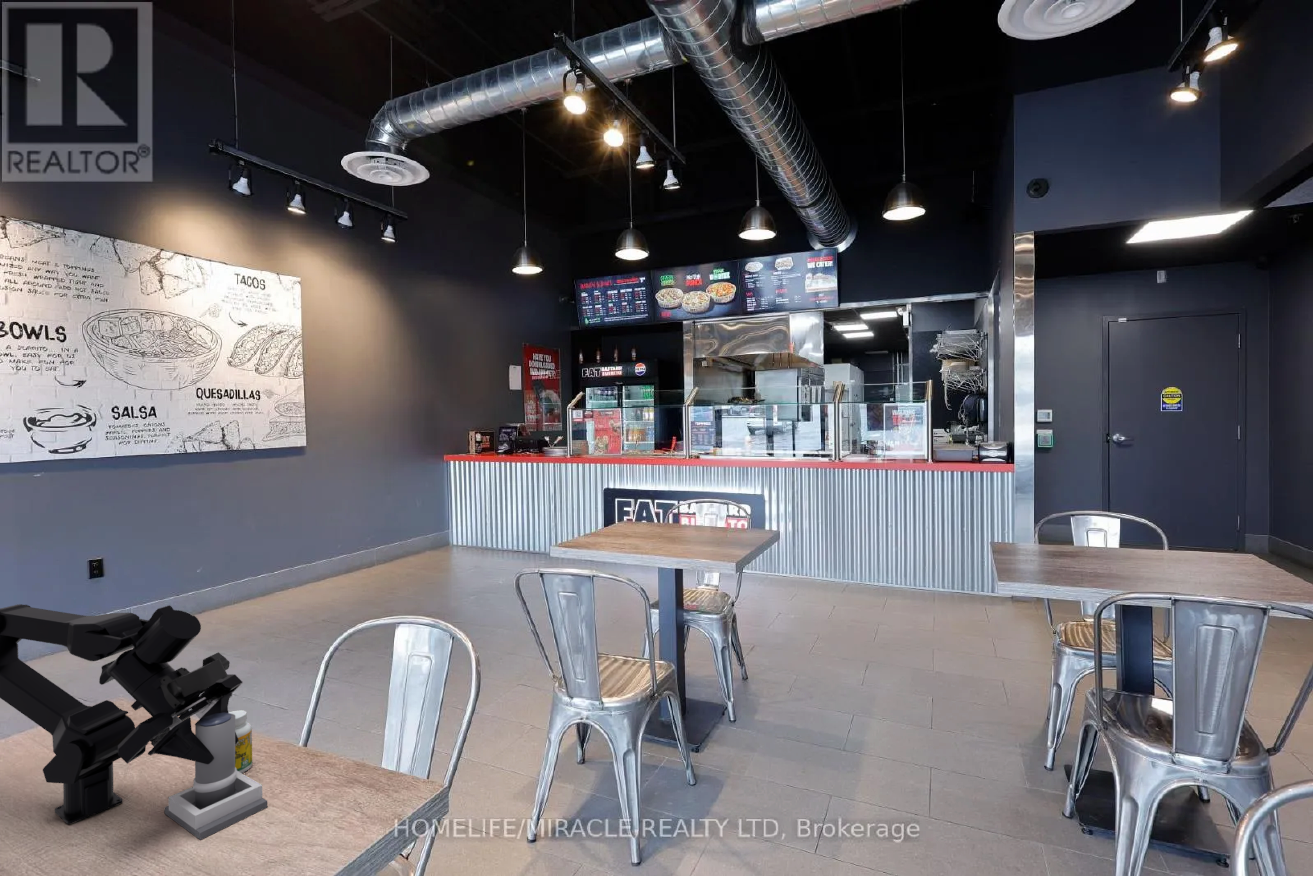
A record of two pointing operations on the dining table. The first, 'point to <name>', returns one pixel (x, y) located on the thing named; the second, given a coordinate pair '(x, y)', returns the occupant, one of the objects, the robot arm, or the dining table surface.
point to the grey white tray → (216, 808)
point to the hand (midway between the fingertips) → (224, 752)
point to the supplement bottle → (243, 741)
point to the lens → (216, 760)
